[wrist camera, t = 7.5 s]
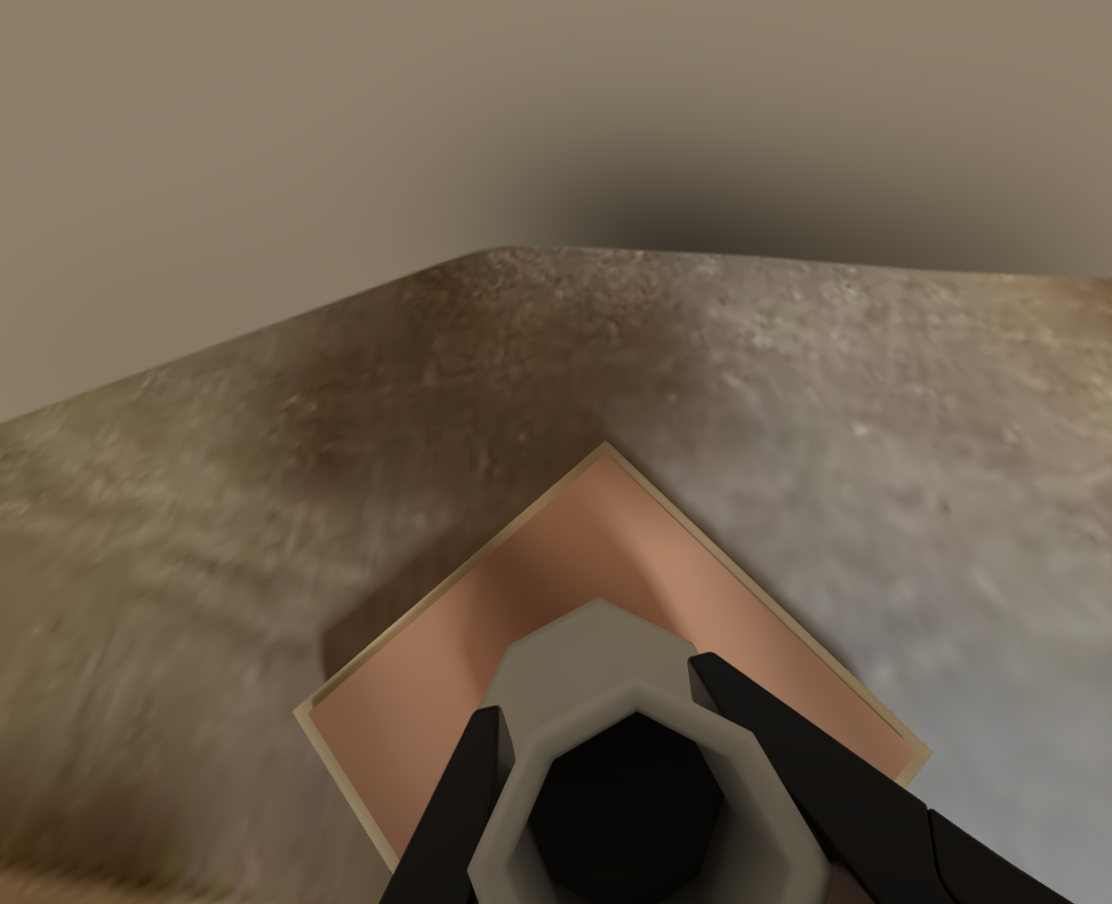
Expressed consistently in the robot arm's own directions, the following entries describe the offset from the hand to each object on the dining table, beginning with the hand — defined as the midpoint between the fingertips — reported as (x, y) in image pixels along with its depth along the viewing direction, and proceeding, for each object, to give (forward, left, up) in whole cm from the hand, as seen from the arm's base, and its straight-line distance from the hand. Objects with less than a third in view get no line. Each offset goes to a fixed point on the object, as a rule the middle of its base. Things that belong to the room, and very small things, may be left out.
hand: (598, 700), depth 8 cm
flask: (-1, -1, -7) cm, 7 cm away
